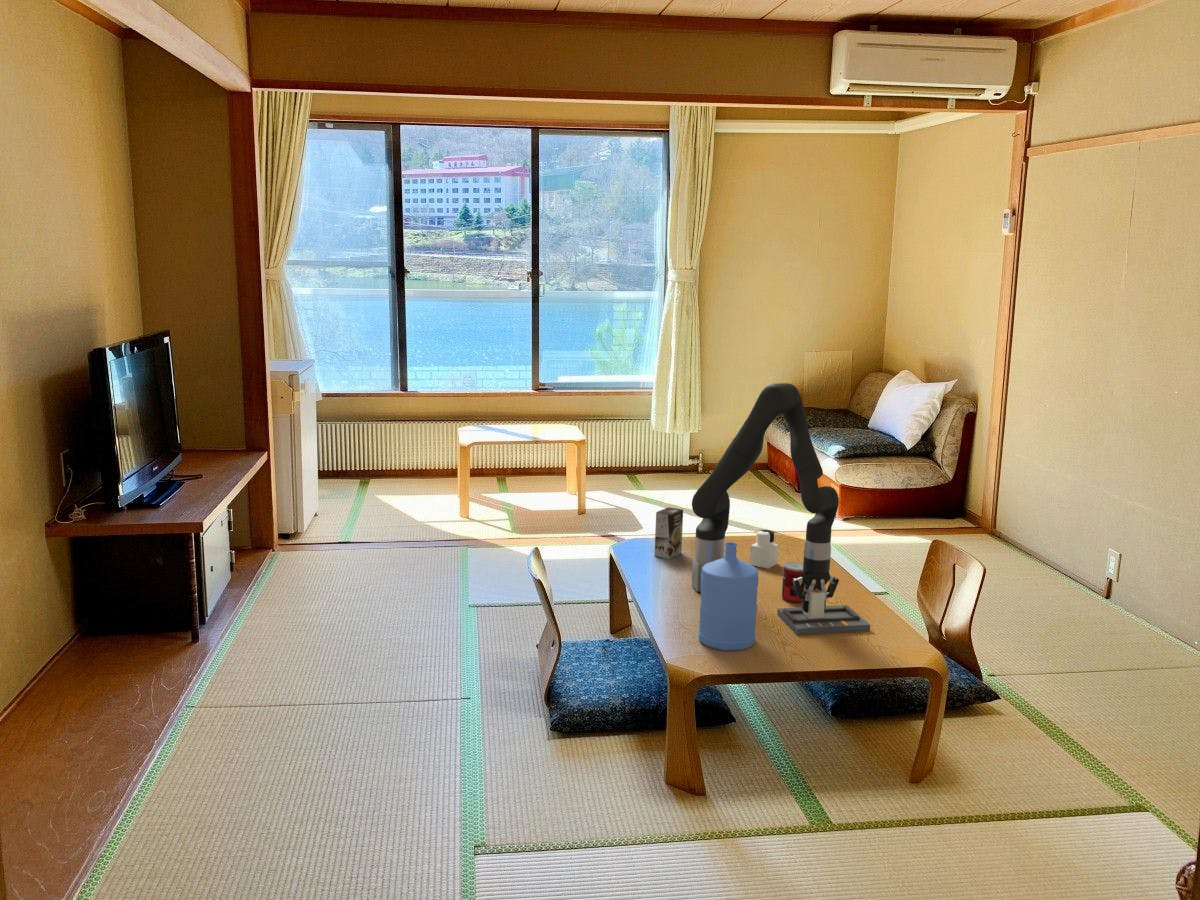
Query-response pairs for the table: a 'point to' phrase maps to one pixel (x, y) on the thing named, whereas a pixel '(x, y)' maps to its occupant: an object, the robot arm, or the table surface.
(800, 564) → the canned food
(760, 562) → the medicine bottle
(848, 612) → the console
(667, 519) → the coffee box
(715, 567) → the water jug
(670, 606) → the table surface
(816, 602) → the block
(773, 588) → the table surface
